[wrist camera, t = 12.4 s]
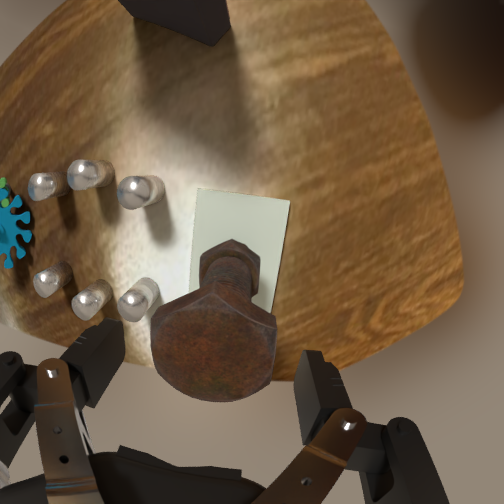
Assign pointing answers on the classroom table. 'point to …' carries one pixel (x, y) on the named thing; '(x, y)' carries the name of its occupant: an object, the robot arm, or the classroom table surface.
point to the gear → (11, 224)
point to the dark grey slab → (185, 16)
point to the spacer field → (130, 197)
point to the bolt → (217, 330)
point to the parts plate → (241, 233)
